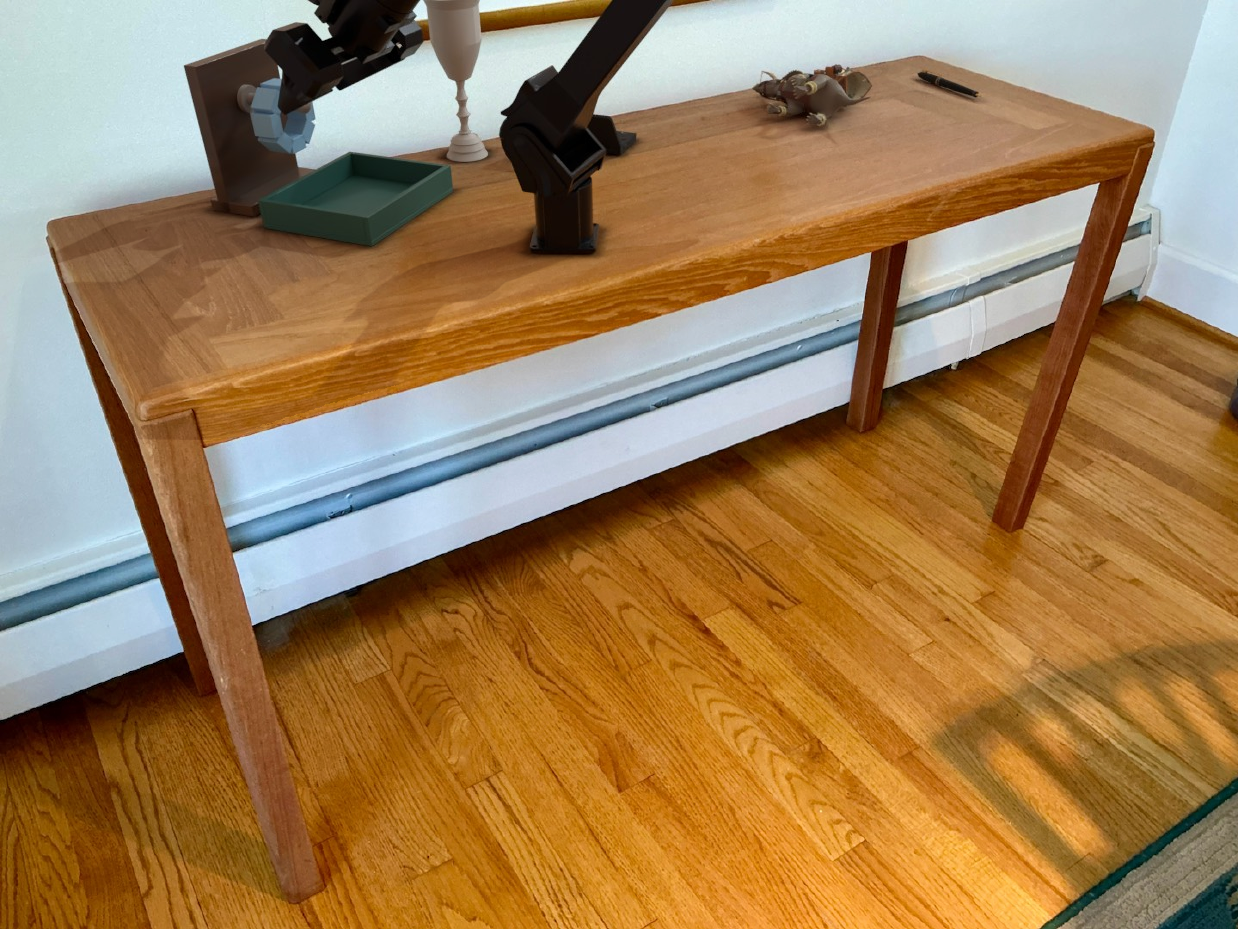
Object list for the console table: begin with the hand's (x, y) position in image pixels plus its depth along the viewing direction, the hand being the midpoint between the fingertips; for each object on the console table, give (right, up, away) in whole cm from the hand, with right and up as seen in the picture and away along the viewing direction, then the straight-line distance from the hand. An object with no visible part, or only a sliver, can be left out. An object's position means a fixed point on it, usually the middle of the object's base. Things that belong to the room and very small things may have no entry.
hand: (310, 98), depth 101 cm
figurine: (+59, +11, +33) cm, 68 cm away
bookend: (+27, +2, +22) cm, 35 cm away
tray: (+4, -10, +5) cm, 12 cm away
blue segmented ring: (-3, -1, +2) cm, 4 cm away
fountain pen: (+79, +16, +41) cm, 90 cm away
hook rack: (-5, -8, +8) cm, 13 cm away
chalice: (+13, 0, +20) cm, 23 cm away
